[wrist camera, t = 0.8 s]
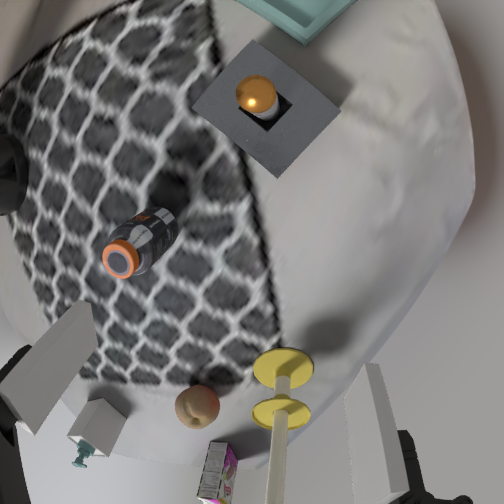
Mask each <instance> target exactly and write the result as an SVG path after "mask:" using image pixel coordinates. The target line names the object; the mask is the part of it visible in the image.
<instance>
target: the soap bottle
mask: <svg viewBox="0 0 504 504" xmlns="http://www.w3.org/2000/svg"><path fill="white" fill-rule="evenodd" d="M126 420H127V419H126V418H125V417H124V416H123V415H121V414H120V413H119V412H118V411H117V410H116V409H115V408H113V407H112V406H111V405H110V404H109V403H108V402H107V401H106V400H105V399H103V398H101V399H97V400H93V401H88V402H87V403H86V405H85V406H84V408H83V409H82V411H81V413H80V414H79V416H78V418H77V419H76V421H75V423H74V424H73V426H72V428H71V429H70V431H69V433H68V434H67V437H68V438H69V439H70V440H72V441H73V442H74V443H76V444H77V447H78V454H80V455H79V457H77V458H76V460H75V462H72V464H73V465H74V466H76V467H83V468H87V466H86V465H85V464H83V458H88V457H89V455H90V456H97V457H109V455H110V453H111V451H112V449H113V447H114V445H115V443H116V441H117V439H118V436H119V434H120V432H121V430H122V428H123V426H124V424H125V422H126Z"/></svg>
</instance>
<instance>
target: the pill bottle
mask: <svg viewBox="0 0 504 504" xmlns="http://www.w3.org/2000/svg"><path fill="white" fill-rule="evenodd" d="M177 236H178V224H177V221H176V219H175V217H174V216H173V215H172V213H171V212H169V211H168V210H166V209H165V208H162V207H157V206H155V207H150V208H148V209H146V210H144V211H143V212H141V213H140V214H138V215H136V216H135V217H133V218H132V219H130V220H129V221H127V222H126V223H124V224H122V225H121V226H119V227H118V228H116V229H115V230H114V231H113V232H112V234H111V235H110V238H109V241H108V245H107V246H106V248H105V249H104V251H103V262H104V265H105V267H106V269H107V270H108V271H109V272H110V273H111V274H112V275H113V276H115V277H117V278H127V277H129V276H131V275H140V274H143V273H145V272H146V271H147V270H149V268H150V267H151V266H152V265H153V264H154V263H155V262H156V261H157V260H158V259H159V258H160V257H161V256H162V255H163V254H164V253H165V252H166V251H167V250H168V249H169V248H170V246H171V245H172V244H173V243H174V242H175V240H176V238H177Z"/></svg>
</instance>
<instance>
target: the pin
mask: <svg viewBox="0 0 504 504" xmlns="http://www.w3.org/2000/svg"><path fill="white" fill-rule="evenodd" d="M236 99H237V102H238V103H239V105H240V106H241V107H242V108H243V109H245V110H247V111H248V112H250V113H252V114H254V115H255V116H257V117H259V118H260V119H262V120H265V121H271V120H273V119H275V118H276V117H277V116H278V115H279V112H280V106H279V102H278V97H277V93H276V89H275V86H274V84H273V83H272V82H271V81H270V80H269V79H268V78H266V77H264V76H261V75H251V76H248V77H246V78H244V79H243V80H242V81H241V82H240V83H239V84H238V86H237V88H236Z"/></svg>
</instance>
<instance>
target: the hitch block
mask: <svg viewBox="0 0 504 504" xmlns="http://www.w3.org/2000/svg"><path fill="white" fill-rule="evenodd" d="M251 75H261V76H264V77H266V78H268V79H269V80H270V81H271V82H272V83H273V84H274V86H275V89H276V93H277V96H278V97H280V98H281V99H282V100H283V101H284V102H286V103H287V104H288V105H289V106H290V107H291V108H290V109H289V110H288V111H287V112H286V113H285V114H284V115H283V116H282V117H281V118H280V119H279V120H278V122H277V123H276V124H275V125H274V126H273V127H272V128H271V129H270V130H269V131H267V130H266V129H265V128H263V127H262V126H261V125H260V124H259V123H257V122H256V121H255V120H254V119H252V118H251V117H250V116H249V115H247V114H246V113H245V112H244V110H245V109H243V108H242V107H241V106H240V105H239V103H238V102H237V99H236V88H237V86H238V84H239V83H240V82H241V81H242V80H243V79H244V78H246V77H248V76H251ZM192 109H193V110H195V111H196V112H197V113H198V114H200V115H201V116H202V117H204V118H205V119H206V120H207V121H209V122H210V123H211V124H213V125H214V126H215V127H216V128H218V129H219V130H220V131H221V132H223V133H224V134H225V135H226V136H228V137H229V138H230V139H231V140H232V141H234V142H235V143H236V144H237V145H239V146H240V147H241V148H242V149H243V150H245V151H246V152H247V153H248V154H249V155H250V156H252V157H253V158H254V159H255V160H256V161H258V162H259V163H260V164H261V165H262V166H263V167H265V168H266V169H267V170H268V171H269V172H270V173H271V174H273V175H274V176H275V177H276V178H277V179H278V178H279V176H280V175H281V174H282V173H283V172H284V171H285V170H286V169H287V168H288V167H289V166H290V165H291V164H292V163H293V161H294V160H295V159H296V158H297V157H298V156H299V155H300V154H301V153H302V152H303V151H304V150H305V149H306V148H307V147H308V146H309V144H310V143H311V142H312V141H313V140H314V139H315V138H316V137H317V136H318V135H319V134H320V133H321V132H322V131H323V130H324V129H325V128H326V127H327V126H328V125H329V124H330V123H331V122H332V120H333V119H334V118H335V117H336V116H337V115H338V114H339V113H340V112H341V110H340V109H339V108H338V107H337V106H336V105H334V104H333V103H332V102H331V101H330V100H329V99H328V98H327V97H326V96H324V95H323V94H322V93H321V92H320V91H319V90H318V89H316V88H315V87H314V86H313V85H312V84H311V83H309V82H308V81H307V80H306V79H305V78H303V77H302V76H301V75H300V74H298V73H297V72H296V71H295V70H293V69H292V68H291V67H290V66H288V65H287V64H286V63H285V62H283V61H282V60H281V59H279V58H278V57H277V56H275V55H274V54H273V53H271V52H270V51H268V50H267V49H266V48H264V47H263V46H261V45H260V44H259V43H257V42H256V41H254V40H252V41H251V42H250V43H249V44H248V45H247V46H246V47H245V48H244V49H243V50H242V51H241V52H240V53H239V54H238V55H237V56H236V57H235V58H234V59H233V60H232V61H231V62H230V63H229V65H228V66H227V67H226V68H225V69H224V70H223V71H222V72H221V73H220V75H219V76H218V77H217V78H216V79H215V80H214V81H213V83H212V84H211V85H210V86H209V87H208V88H207V90H206V91H205V92H204V93H203V94H202V96H201V97H200V98H199V99H198V100H197V102H196V103H195V104H194V105H193V107H192Z"/></svg>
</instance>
